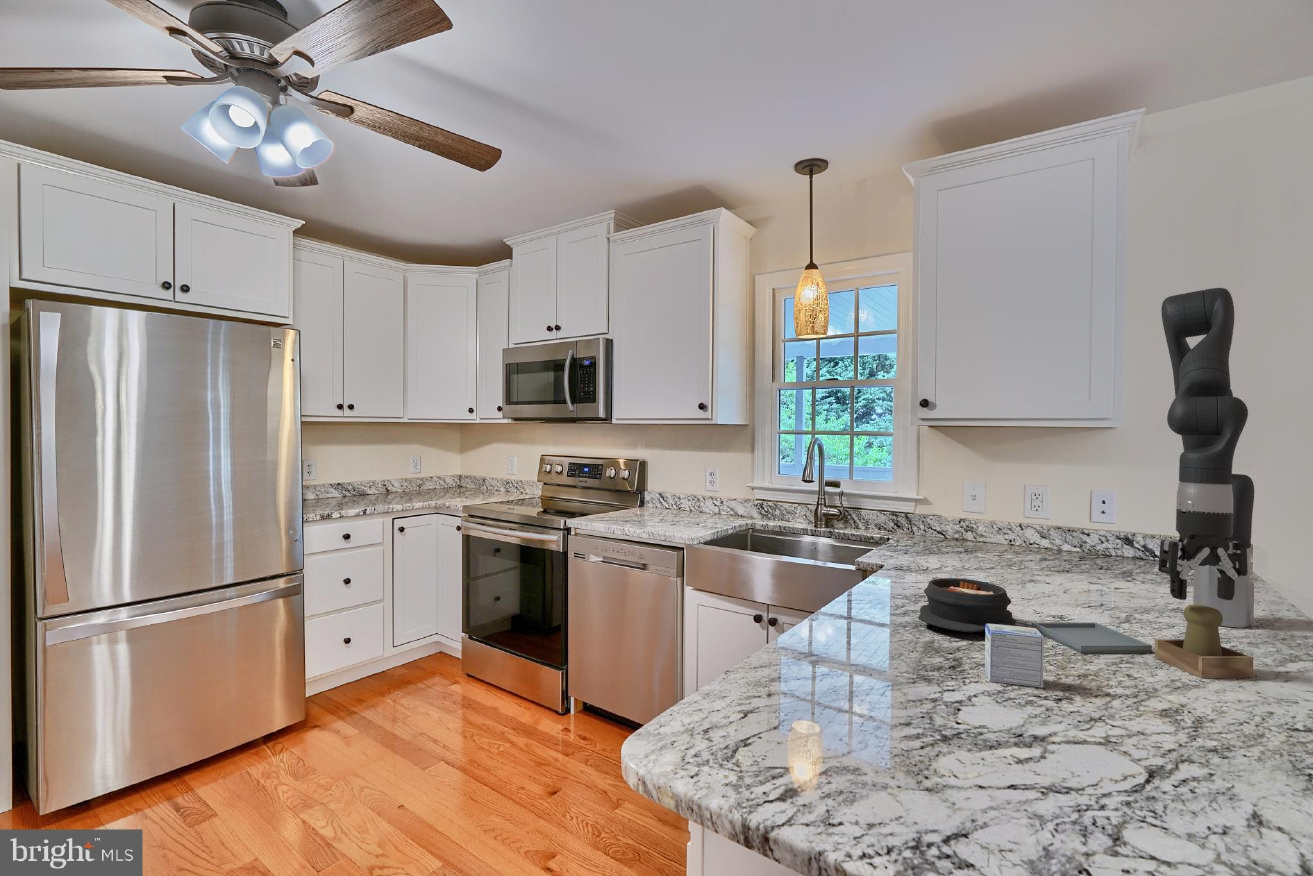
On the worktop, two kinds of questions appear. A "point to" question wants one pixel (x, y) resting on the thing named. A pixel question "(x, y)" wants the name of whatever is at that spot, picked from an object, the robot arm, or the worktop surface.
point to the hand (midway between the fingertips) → (1201, 599)
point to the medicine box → (1014, 655)
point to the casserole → (965, 605)
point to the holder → (1204, 660)
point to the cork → (1202, 630)
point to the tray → (1091, 638)
